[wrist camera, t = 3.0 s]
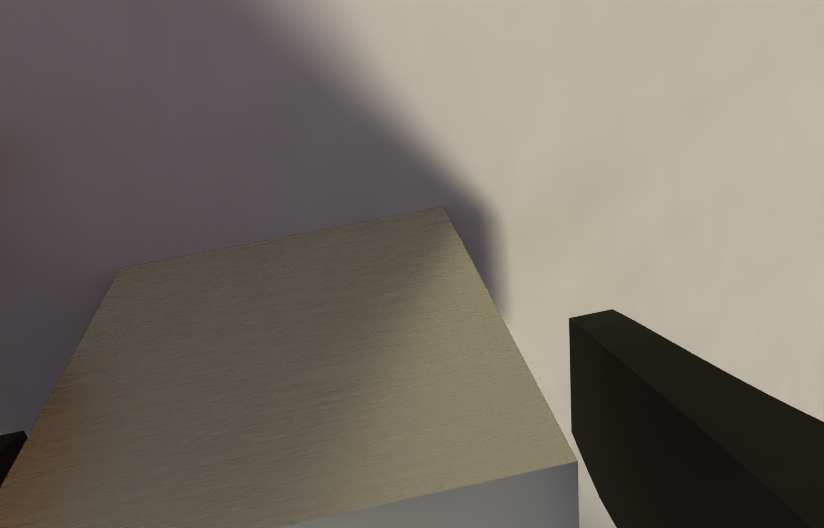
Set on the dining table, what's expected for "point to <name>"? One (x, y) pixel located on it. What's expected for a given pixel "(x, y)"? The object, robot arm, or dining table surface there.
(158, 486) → the link block
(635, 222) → the dining table surface
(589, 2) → the dining table surface
